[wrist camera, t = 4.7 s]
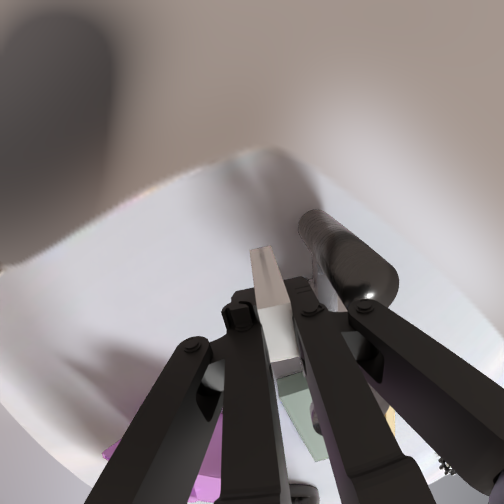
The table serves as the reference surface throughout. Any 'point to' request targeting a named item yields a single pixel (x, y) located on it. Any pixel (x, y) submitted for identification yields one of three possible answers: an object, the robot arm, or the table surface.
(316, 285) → the cam capstan
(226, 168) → the table surface
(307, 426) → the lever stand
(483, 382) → the robot arm
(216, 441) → the teapot
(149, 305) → the table surface
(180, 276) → the table surface
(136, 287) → the table surface
